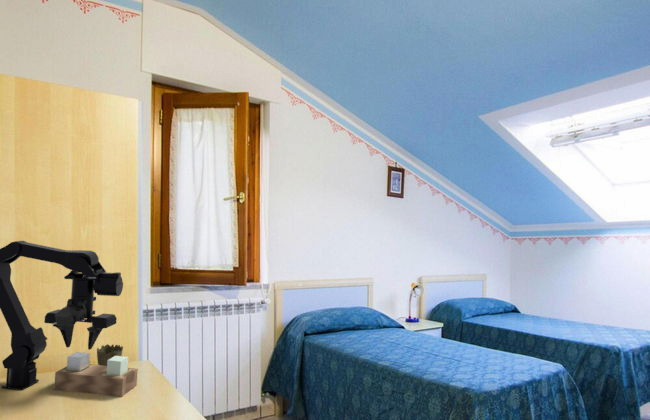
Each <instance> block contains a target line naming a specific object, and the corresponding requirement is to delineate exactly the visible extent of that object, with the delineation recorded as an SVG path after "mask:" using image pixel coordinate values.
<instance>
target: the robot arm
mask: <svg viewBox="0 0 650 420" xmlns="http://www.w3.org/2000/svg"><path fill="white" fill-rule="evenodd" d="M20 257H23V258H27V259H33V260H39V261H43V262H49V263H53V264H57V265H61V266H62V267H64V268H65V269H68V270H70V272H69V273H68V274H66V275H65V276H64V278H63V279H64V280H71V294H70V295H71V297H70V298H68V299H67V301H66V305H65V307H63V308H61V309H60V308H59V309H55V310H53V311H49V312H47V313H46V314H45V316H44V324H51V325H52V326H53V328H54V327H55V328H57V329H58V330H59V332H60V334H61V336H62V338H63V341H64V344H65V347H66V348H70V347H71V344H72V340H73V333H74V328H75V325H76V323H77V322H78V323H90V324H91V325H90V326H88V327H87V328H86V329H87V331H88V342H87V348H88V349H87V350H89V351H90V350H92V349H93V347H94V345H95V343H96V341H97V339H98V337H100V334H101V333H102V331H103V329H107V328H110V327H112V326H114V325H117V320H118V319H117V316H116V315H115V314H113V313H101V314H98V315H96V310H94V302H95V301H97V296H104V297H105V296H107V297H120V296H121V294H122V292H123V289H124V282H123V278H122V273H121V272H119V271H117V272H106V269H105V268H104V267H103V265H102V264H101V262H100V261H99V260H100V259H99V256H98V254H97V253H96V252H95V251H93V250H82V249H79V250H77V249H76V250H74V249H72V250H70V249H69V250H68V249H67V250H66V249H61V248H55V247H52V246H46V245H42V244H37V243H32V242H28V241H26V240H16V241H11V242H10V243H8V244H7V245H4V246H3V247H1V248H0V311H1V314H2V316H3V318H4V320H5V322H6V325H7V326H8V328H9V331H10V333H11V334H10V335H11V336H10V348H11V353H10V354H9V355H8V356H7V357H5V358H4V359H3V360H2V366H3V369H6V382H5V383H4V384H2V385H1V389H9V390H18V391H20V390H21V391H23V390H25V389H27V388H29V387H31V386H33V385H34V384H37V383H38V382H39V381H40V380H39V379H37V370H38V369H37V365H36V364H37V362H36V360H37V359H39V357H40V356H41V354H42V353H43V352H44V351H45V350H46V349H47V346H48V345H47V343H48V342H47V340H48V338H47V337H46V336H45V333H44V329H43V328H42V327H38V328H35V326H33V325H32V324H31V322H30V320H29V318H28V315H27V314H26V312H25V310H24V308H23V305H22V303H21V300H20V298H19V297H18V293H16V290H15V287H14V285H13V284H12V281H11V278H12V277H11V275H12V268H11V264H12V263H14V262H16V261H17V260H18V259H19V258H20ZM95 294H96V295H97V296H95ZM95 315H96V316H95Z"/></svg>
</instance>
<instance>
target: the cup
mask: <svg viewBox="0 0 650 420" xmlns="http://www.w3.org/2000/svg"><path fill="white" fill-rule="evenodd" d="M123 348H124V346H123V345H120V344H115V345H114V344H111V345H110V344H106V345H104V344H103V345H101V347H100V348H99V347H97V348H96V357H97V365H104V366H107V360H109V359H111V358H112V357H114V356H122V355H123V350H124V349H123Z"/></svg>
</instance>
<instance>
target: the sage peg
mask: <svg viewBox="0 0 650 420" xmlns="http://www.w3.org/2000/svg"><path fill="white" fill-rule="evenodd" d="M128 368H129V356H124V355H123V356H114V357H112V358H111V359H109V360H107V375H115V376H121V375H123V374H124V373H126V372H127V371H128Z"/></svg>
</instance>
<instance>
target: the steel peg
mask: <svg viewBox="0 0 650 420" xmlns="http://www.w3.org/2000/svg"><path fill="white" fill-rule="evenodd" d="M66 359H67V362H66V367H67V371H74V372H81V371H83V370H85V369H87V368H88V367H89V364H90V352H78V351H76V352H73V353H72V354H70V355H68V356H67V358H66Z"/></svg>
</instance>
